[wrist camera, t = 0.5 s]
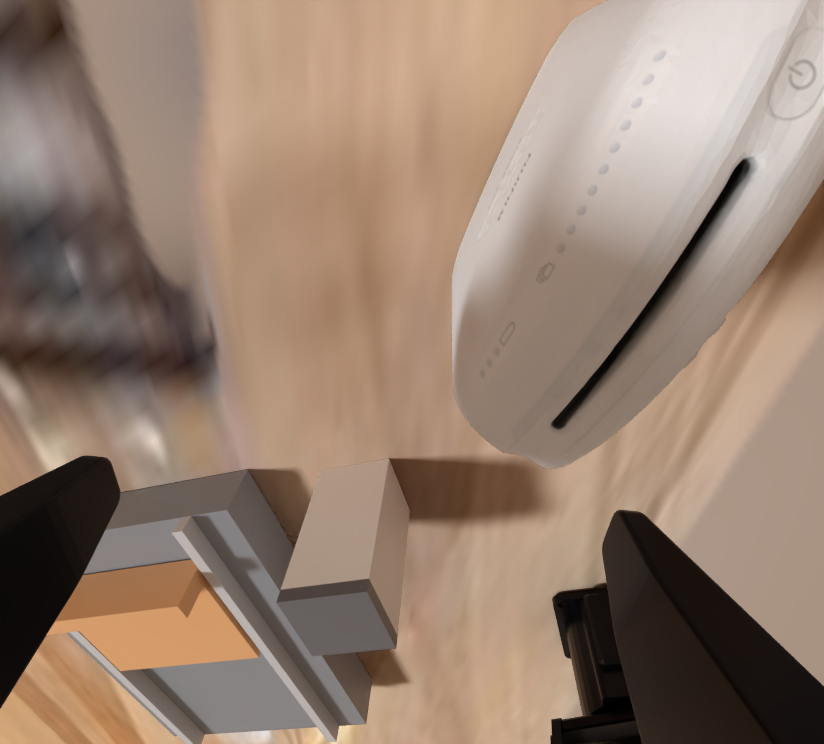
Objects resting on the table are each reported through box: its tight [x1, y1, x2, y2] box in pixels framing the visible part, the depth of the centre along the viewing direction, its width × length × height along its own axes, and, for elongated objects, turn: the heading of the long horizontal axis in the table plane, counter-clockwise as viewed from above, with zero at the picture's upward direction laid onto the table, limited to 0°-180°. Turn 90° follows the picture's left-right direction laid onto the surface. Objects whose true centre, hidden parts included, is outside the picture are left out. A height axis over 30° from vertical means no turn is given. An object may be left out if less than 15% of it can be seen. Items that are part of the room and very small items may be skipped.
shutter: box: [47, 559, 261, 671], centre depth 29 cm, size 8×10×3 cm
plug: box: [276, 459, 410, 656], centre depth 24 cm, size 4×4×8 cm
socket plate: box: [67, 470, 372, 744], centre depth 33 cm, size 22×16×4 cm
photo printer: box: [452, 0, 824, 469], centre depth 14 cm, size 10×4×12 cm, turn 158°
